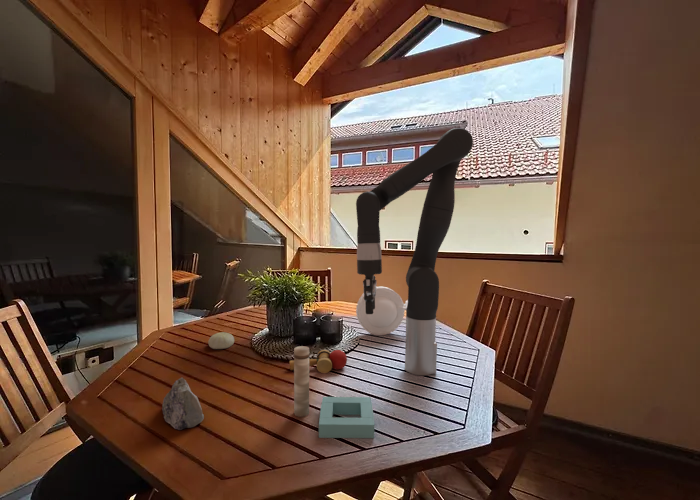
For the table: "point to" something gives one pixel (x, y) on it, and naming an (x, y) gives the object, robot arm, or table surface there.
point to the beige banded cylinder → (301, 381)
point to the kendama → (327, 361)
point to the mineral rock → (182, 406)
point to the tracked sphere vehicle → (382, 312)
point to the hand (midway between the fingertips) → (370, 311)
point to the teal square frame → (346, 426)
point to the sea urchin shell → (221, 340)
